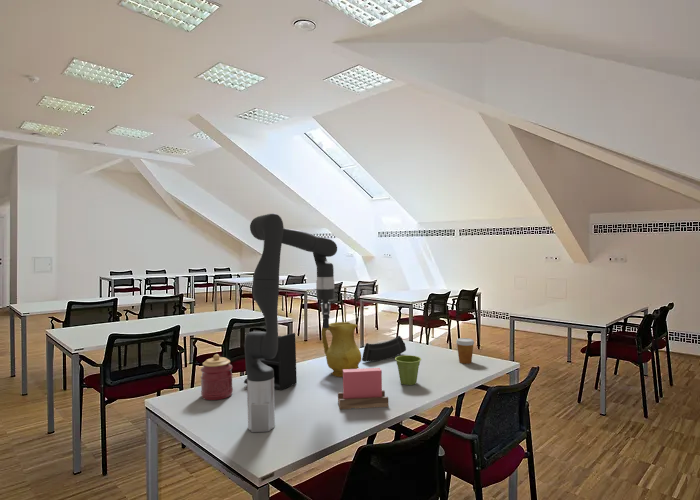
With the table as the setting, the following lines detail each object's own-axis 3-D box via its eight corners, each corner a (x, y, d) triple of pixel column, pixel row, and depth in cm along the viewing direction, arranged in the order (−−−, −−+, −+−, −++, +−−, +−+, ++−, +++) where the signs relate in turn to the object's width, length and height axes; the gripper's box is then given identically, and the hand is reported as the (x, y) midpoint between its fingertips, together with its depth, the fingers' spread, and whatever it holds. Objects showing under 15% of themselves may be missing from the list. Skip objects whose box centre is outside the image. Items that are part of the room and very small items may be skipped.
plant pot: (390, 383, 201) (389, 358, 200) (406, 377, 209) (405, 353, 209) (411, 389, 192) (410, 363, 192) (426, 382, 201) (426, 358, 201)
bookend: (243, 382, 205) (242, 332, 205) (260, 376, 215) (259, 328, 214) (281, 391, 193) (280, 337, 192) (297, 384, 202) (296, 333, 201)
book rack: (388, 406, 172) (388, 397, 172) (339, 409, 170) (339, 400, 170) (384, 398, 181) (384, 390, 181) (338, 401, 179) (337, 392, 179)
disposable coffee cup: (454, 359, 239) (454, 337, 239) (472, 359, 239) (472, 337, 239) (458, 364, 230) (457, 341, 230) (476, 364, 229) (476, 341, 229)
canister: (224, 388, 197) (223, 349, 197) (238, 395, 187) (237, 354, 187) (196, 395, 189) (195, 354, 188) (208, 403, 179) (208, 359, 179)
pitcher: (342, 380, 205) (340, 325, 206) (318, 373, 219) (317, 323, 221) (369, 373, 216) (367, 322, 218) (344, 368, 231) (343, 320, 232)
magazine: (361, 348, 232) (400, 324, 250) (357, 346, 235) (396, 324, 252) (369, 377, 236) (407, 352, 253) (365, 375, 238) (403, 351, 256)
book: (382, 400, 174) (381, 370, 174) (344, 402, 172) (343, 372, 172) (380, 397, 178) (379, 367, 178) (343, 399, 176) (342, 369, 176)
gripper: (335, 289, 178) (335, 329, 178) (333, 286, 192) (334, 323, 192) (316, 289, 177) (316, 329, 177) (316, 286, 191) (316, 323, 191)
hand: (325, 326), depth 185 cm, fingers open, 8 cm apart
